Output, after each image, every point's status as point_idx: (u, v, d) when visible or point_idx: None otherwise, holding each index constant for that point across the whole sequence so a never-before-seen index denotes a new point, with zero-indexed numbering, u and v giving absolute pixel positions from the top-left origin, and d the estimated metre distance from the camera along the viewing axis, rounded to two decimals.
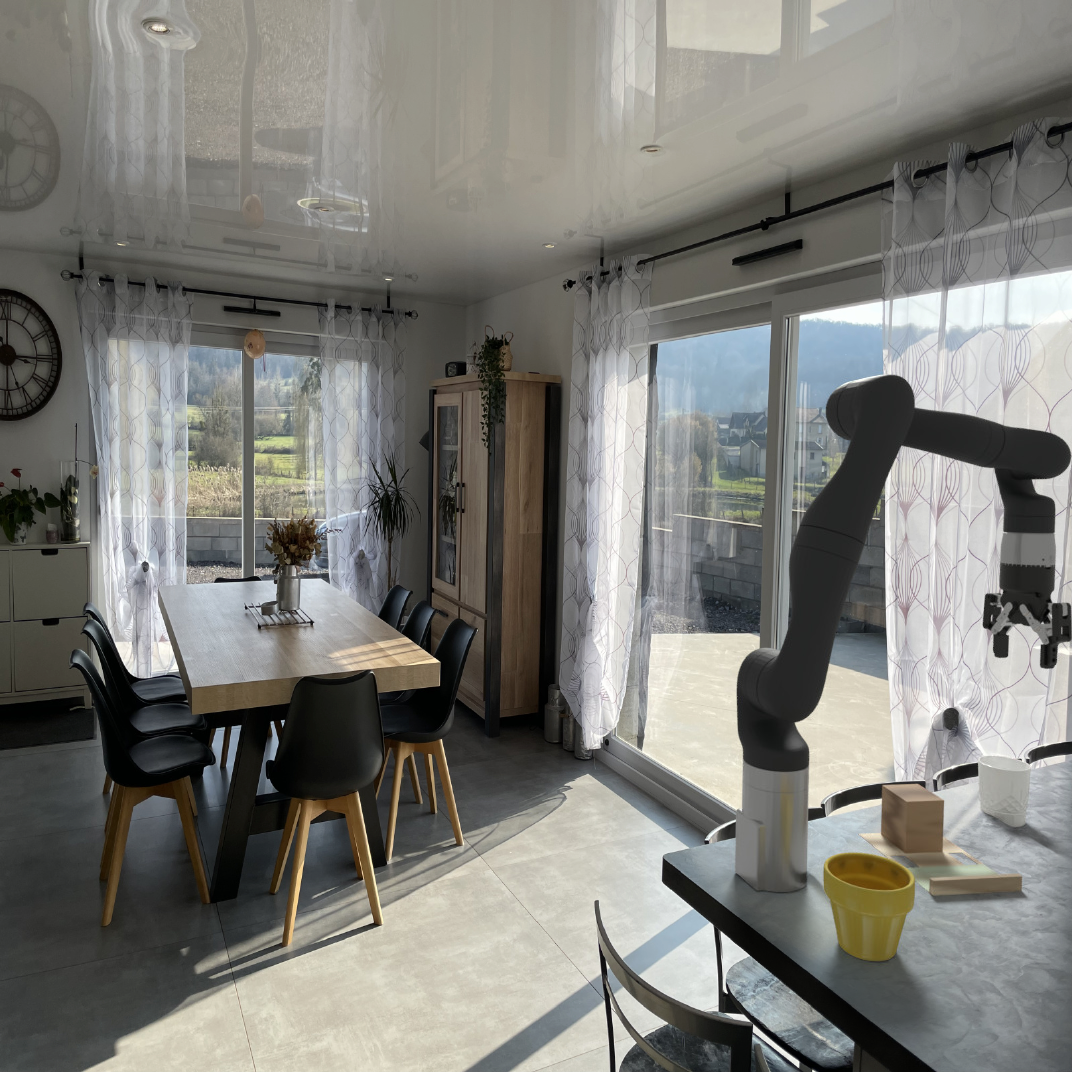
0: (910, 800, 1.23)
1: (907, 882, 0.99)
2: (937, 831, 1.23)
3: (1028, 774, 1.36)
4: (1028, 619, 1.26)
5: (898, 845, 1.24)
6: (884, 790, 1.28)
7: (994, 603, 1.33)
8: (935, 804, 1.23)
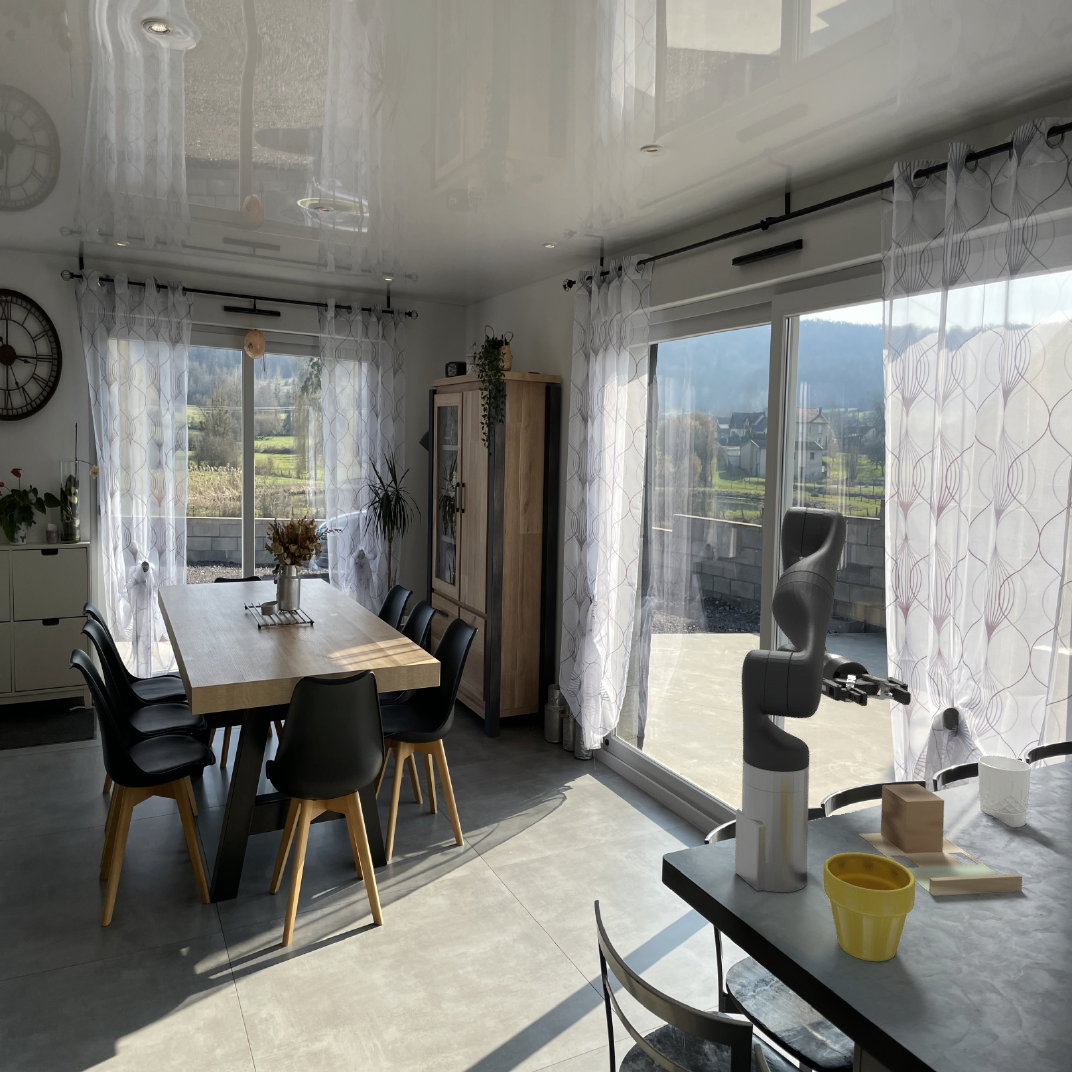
0: (910, 800, 1.23)
1: (907, 882, 0.99)
2: (937, 831, 1.23)
3: (1028, 774, 1.36)
4: (874, 678, 1.41)
5: (898, 845, 1.24)
6: (884, 790, 1.28)
7: None
8: (935, 804, 1.23)
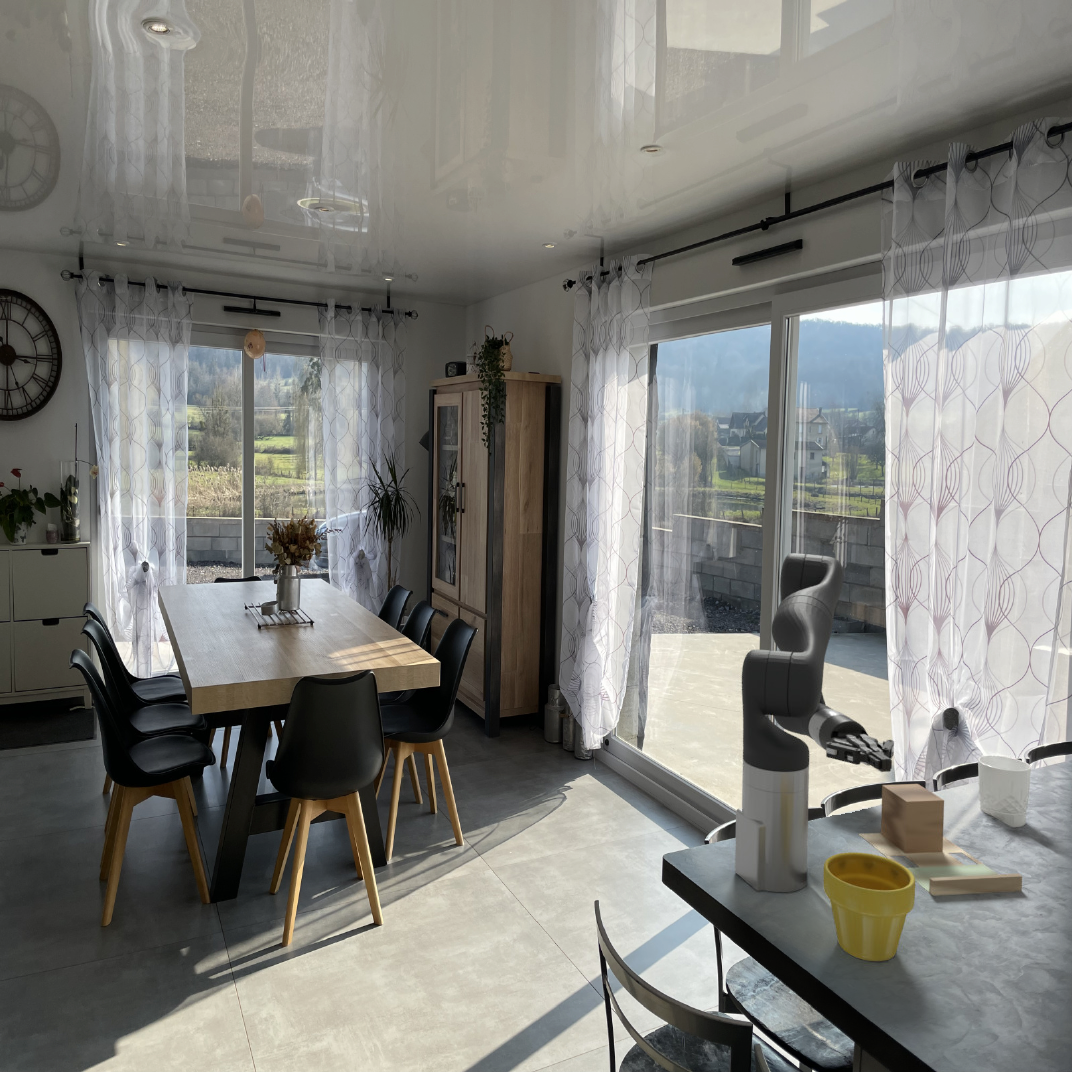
0: (910, 800, 1.23)
1: (907, 882, 0.99)
2: (937, 831, 1.23)
3: (1028, 774, 1.36)
4: (866, 739, 1.42)
5: (898, 845, 1.24)
6: (884, 790, 1.28)
7: None
8: (935, 804, 1.23)
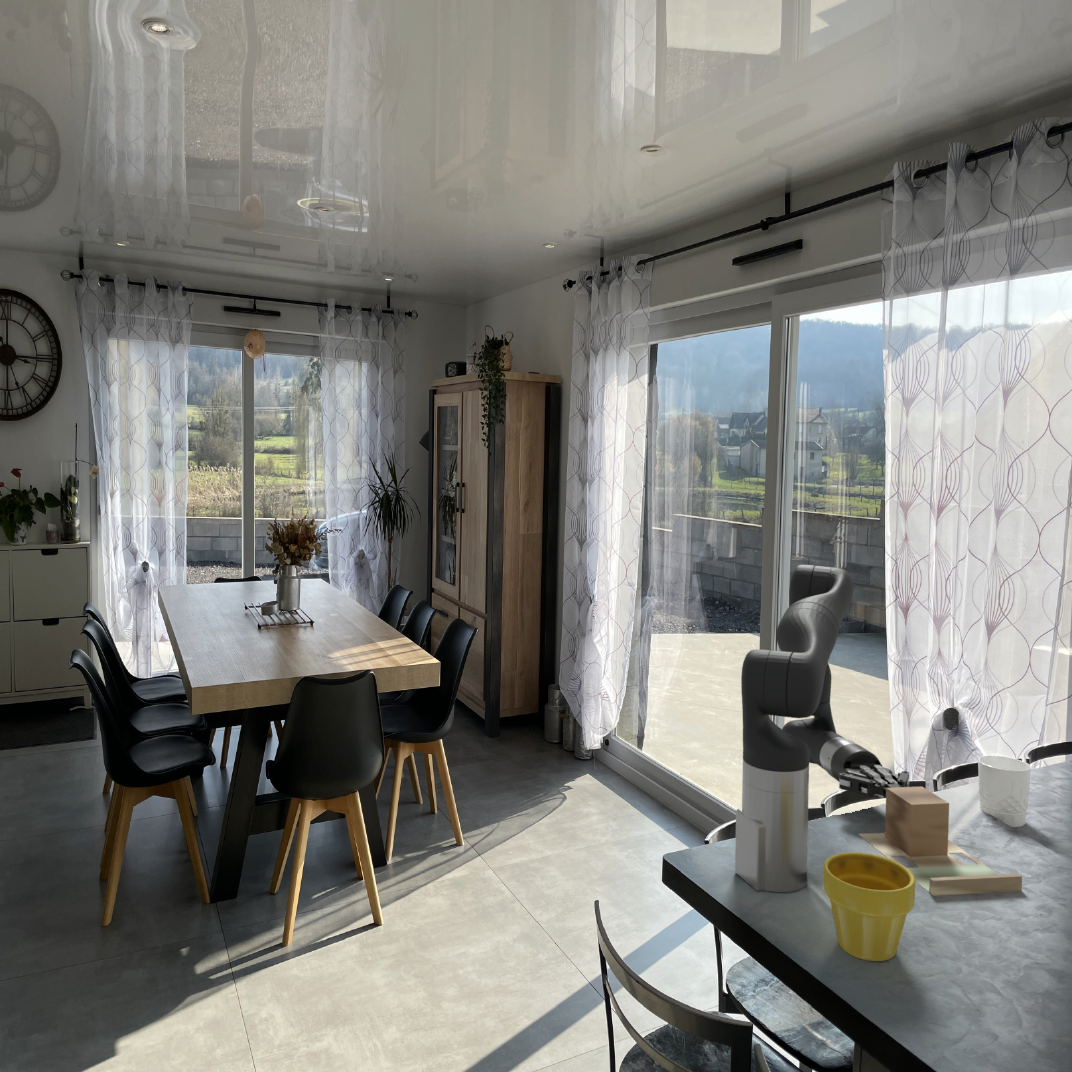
0: (915, 803, 1.21)
1: (907, 882, 0.99)
2: (942, 834, 1.22)
3: (1028, 774, 1.36)
4: (880, 771, 1.37)
5: (903, 848, 1.23)
6: (888, 793, 1.27)
7: None
8: (940, 807, 1.22)
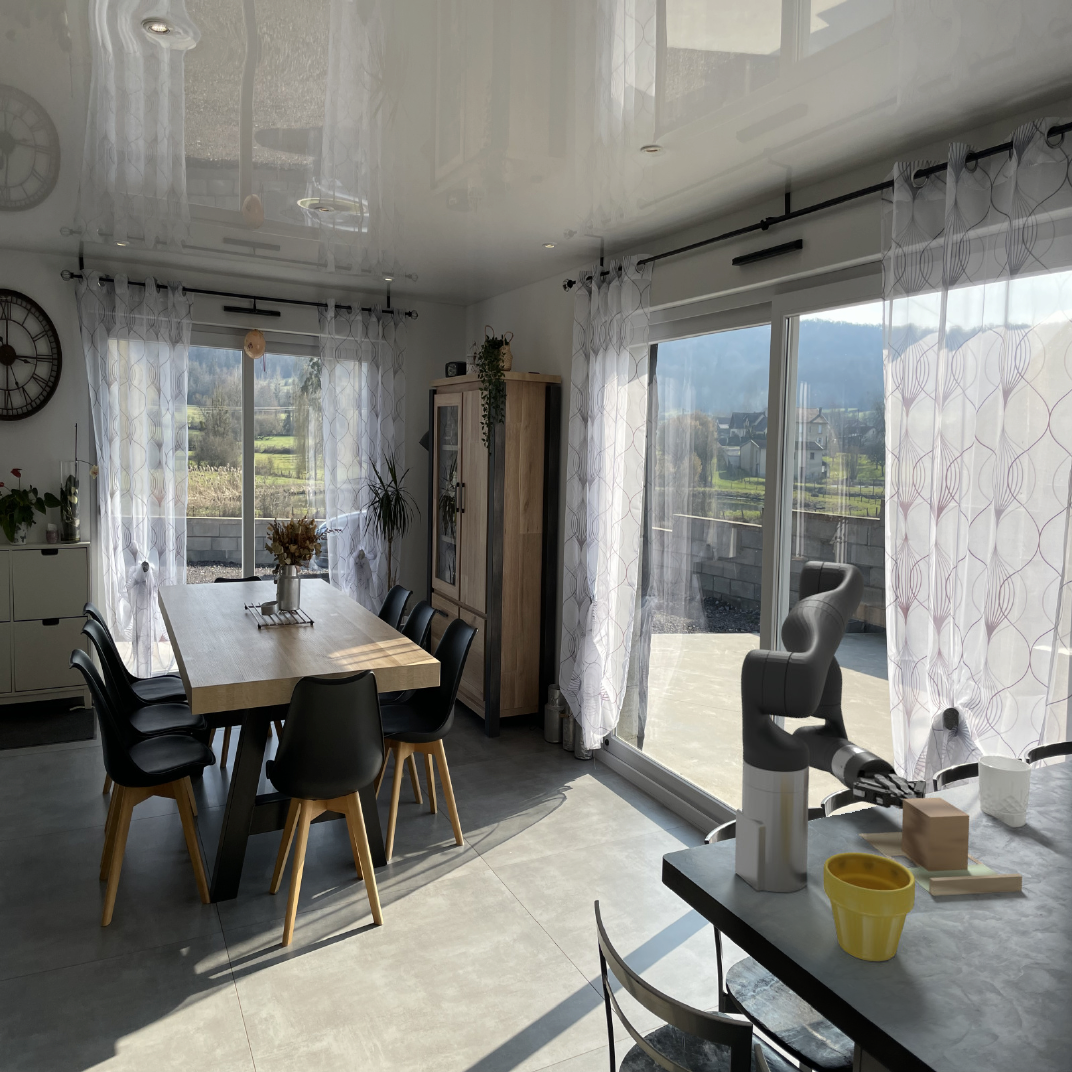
0: (934, 815, 1.17)
1: (907, 882, 0.99)
2: (962, 848, 1.17)
3: (1028, 774, 1.36)
4: (896, 780, 1.32)
5: (921, 862, 1.19)
6: (905, 804, 1.23)
7: None
8: (960, 820, 1.17)
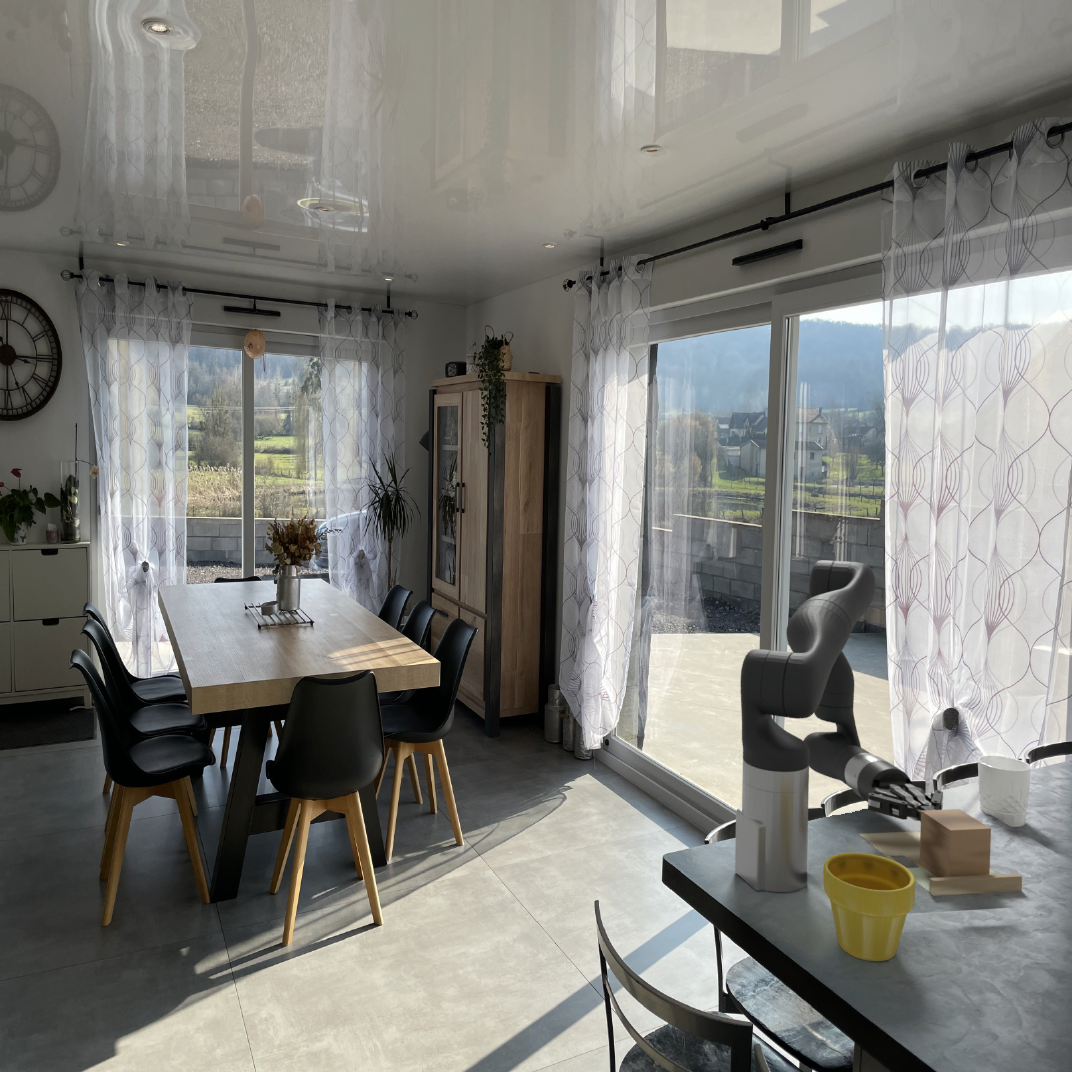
0: (954, 828, 1.12)
1: (907, 882, 0.99)
2: (983, 862, 1.13)
3: (1028, 774, 1.36)
4: (912, 790, 1.27)
5: None
6: (923, 816, 1.18)
7: None
8: (982, 833, 1.12)
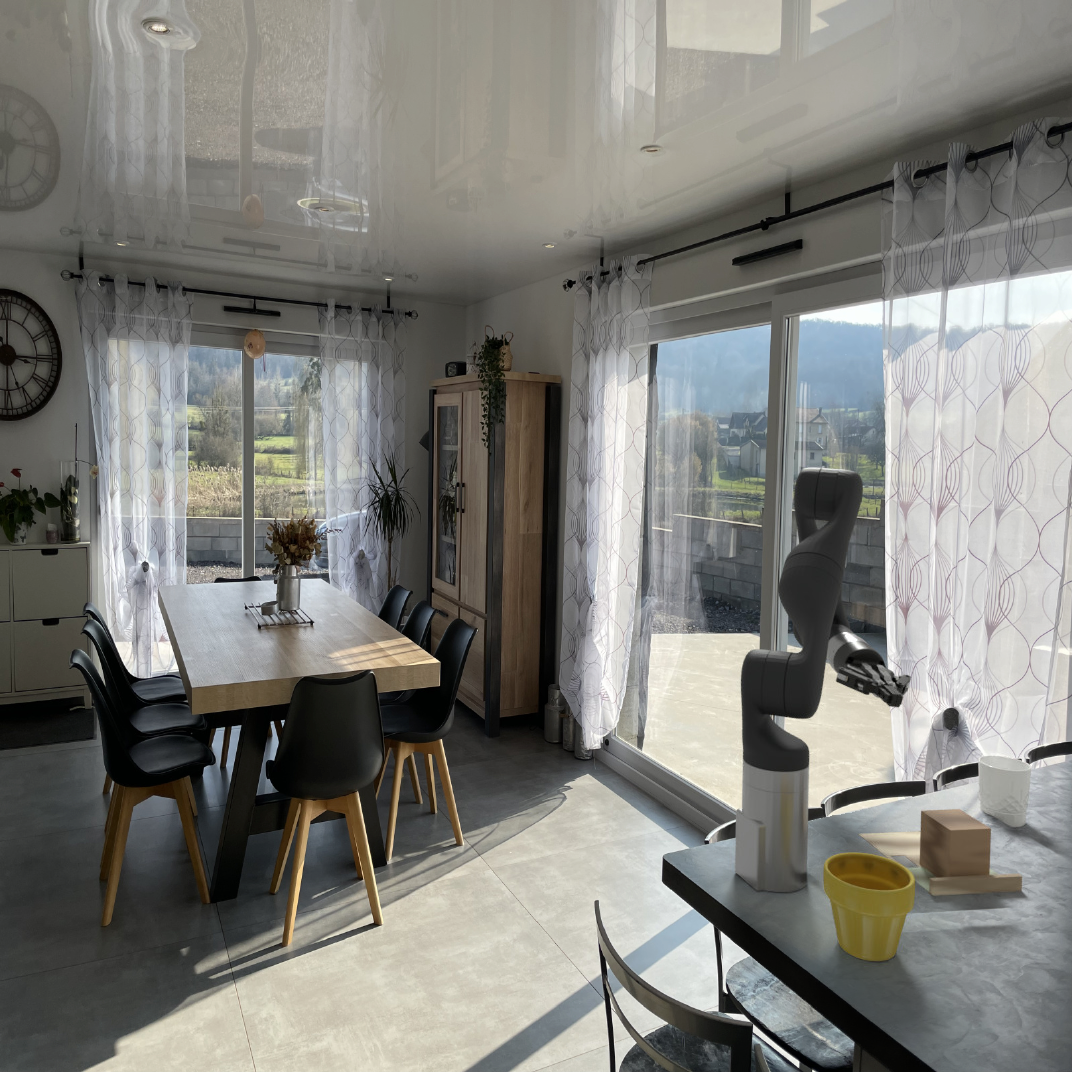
0: (954, 828, 1.12)
1: (907, 882, 0.99)
2: (983, 862, 1.13)
3: (1028, 774, 1.36)
4: (881, 671, 1.35)
5: None
6: (923, 816, 1.18)
7: None
8: (982, 833, 1.12)
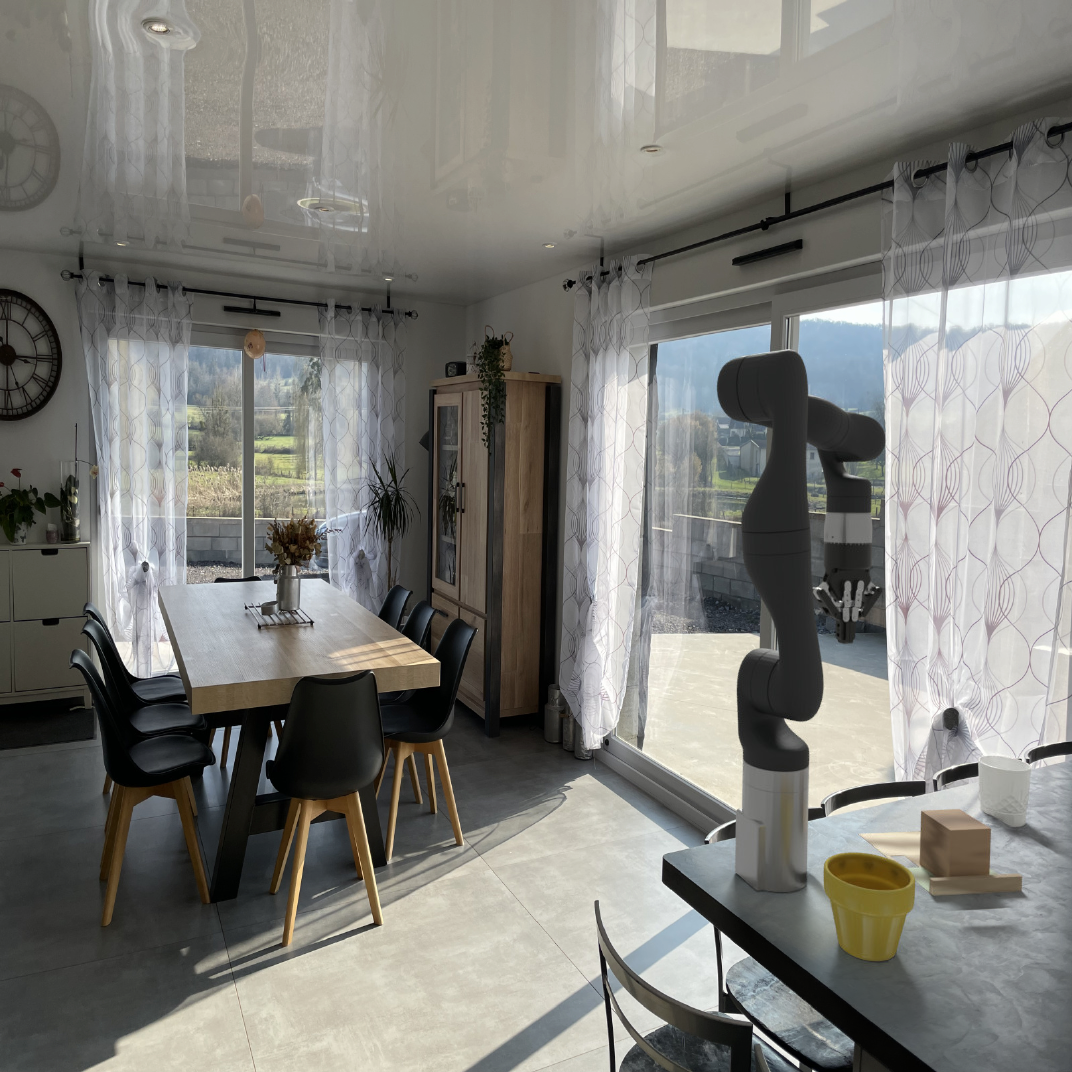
0: (954, 828, 1.12)
1: (907, 882, 0.99)
2: (983, 862, 1.13)
3: (1028, 774, 1.36)
4: (857, 595, 1.34)
5: None
6: (923, 816, 1.18)
7: (827, 592, 1.33)
8: (982, 833, 1.12)
